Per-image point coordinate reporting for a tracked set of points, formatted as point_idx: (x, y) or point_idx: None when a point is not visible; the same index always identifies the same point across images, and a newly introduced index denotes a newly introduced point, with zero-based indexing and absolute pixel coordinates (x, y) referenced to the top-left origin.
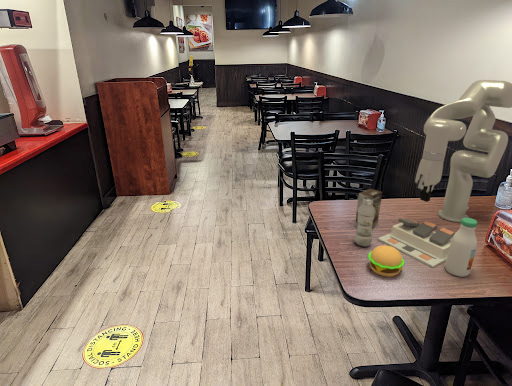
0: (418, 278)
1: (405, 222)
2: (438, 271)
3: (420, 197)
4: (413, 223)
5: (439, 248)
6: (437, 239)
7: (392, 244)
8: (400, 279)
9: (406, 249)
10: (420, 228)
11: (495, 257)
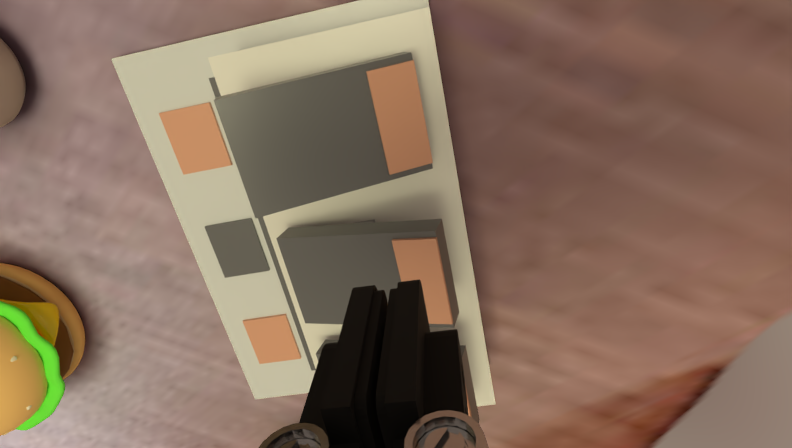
0: (145, 413)
1: (242, 176)
2: (266, 414)
3: (350, 304)
4: (320, 199)
5: None
6: None
7: (171, 170)
8: None
9: (218, 252)
10: (333, 264)
11: (630, 442)
